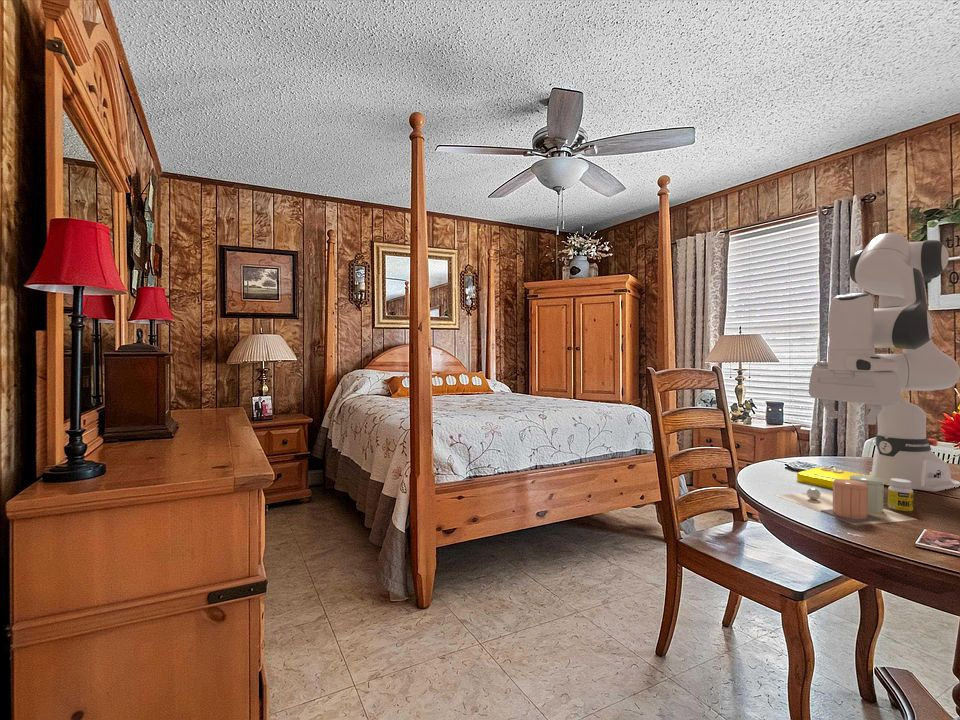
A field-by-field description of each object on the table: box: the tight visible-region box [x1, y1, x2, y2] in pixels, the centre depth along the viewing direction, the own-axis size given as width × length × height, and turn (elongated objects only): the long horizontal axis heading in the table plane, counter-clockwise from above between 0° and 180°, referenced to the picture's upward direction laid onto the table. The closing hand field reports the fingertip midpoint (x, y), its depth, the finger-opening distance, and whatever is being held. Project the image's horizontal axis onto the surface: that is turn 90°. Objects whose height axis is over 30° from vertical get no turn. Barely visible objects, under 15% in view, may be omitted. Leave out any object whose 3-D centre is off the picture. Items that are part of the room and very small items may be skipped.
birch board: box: [775, 490, 919, 526], centre depth 122 cm, size 17×23×2 cm
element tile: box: [796, 466, 873, 490], centre depth 144 cm, size 15×15×5 cm
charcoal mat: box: [820, 509, 881, 524], centre depth 116 cm, size 8×8×1 cm
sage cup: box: [850, 475, 885, 514], centre depth 120 cm, size 6×6×8 cm
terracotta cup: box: [832, 479, 868, 519], centre depth 116 cm, size 6×6×8 cm
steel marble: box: [806, 487, 821, 500], centre depth 128 cm, size 3×3×3 cm
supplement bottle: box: [887, 478, 914, 512], centre depth 121 cm, size 5×5×8 cm
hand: (850, 421), depth 115 cm, fingers open, 8 cm apart
